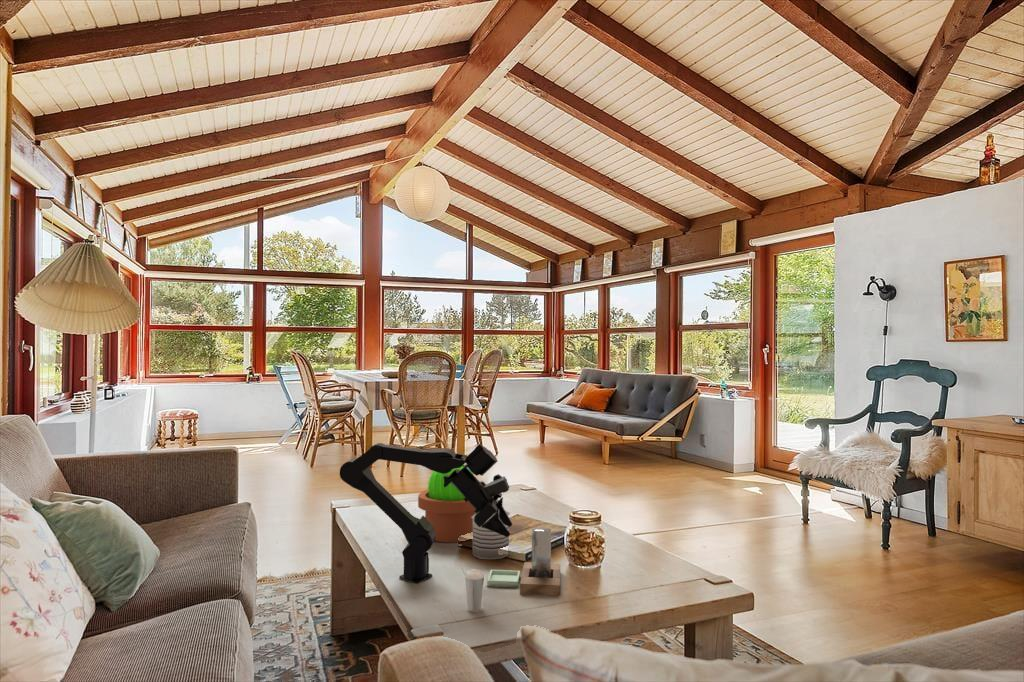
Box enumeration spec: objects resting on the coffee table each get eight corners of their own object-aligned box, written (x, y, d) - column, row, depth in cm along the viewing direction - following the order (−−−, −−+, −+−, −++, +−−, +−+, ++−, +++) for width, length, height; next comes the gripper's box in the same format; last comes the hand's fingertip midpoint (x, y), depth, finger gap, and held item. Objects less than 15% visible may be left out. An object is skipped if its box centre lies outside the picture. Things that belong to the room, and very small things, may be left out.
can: (504, 561, 184) (505, 519, 184) (467, 558, 186) (467, 517, 186) (512, 548, 195) (513, 509, 195) (476, 546, 197) (477, 507, 197)
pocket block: (519, 593, 160) (520, 583, 160) (524, 571, 176) (524, 562, 176) (559, 595, 159) (559, 585, 159) (560, 572, 175) (560, 563, 175)
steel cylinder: (544, 587, 164) (544, 533, 164) (527, 583, 167) (528, 530, 167) (554, 581, 168) (554, 529, 168) (538, 577, 171) (538, 525, 171)
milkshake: (461, 605, 152) (461, 564, 152) (483, 605, 152) (483, 563, 153) (461, 613, 147) (461, 570, 148) (484, 613, 148) (484, 570, 148)
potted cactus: (405, 540, 202) (406, 462, 203) (438, 522, 223) (439, 451, 223) (467, 549, 194) (468, 467, 194) (496, 530, 214) (496, 456, 215)
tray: (487, 586, 164) (487, 580, 164) (490, 575, 172) (490, 569, 172) (517, 587, 164) (517, 581, 164) (520, 576, 172) (520, 570, 172)
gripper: (488, 473, 160) (531, 519, 159) (495, 460, 178) (533, 501, 178) (456, 503, 160) (498, 549, 159) (466, 487, 179) (504, 528, 178)
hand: (510, 530), depth 169 cm, fingers open, 9 cm apart
